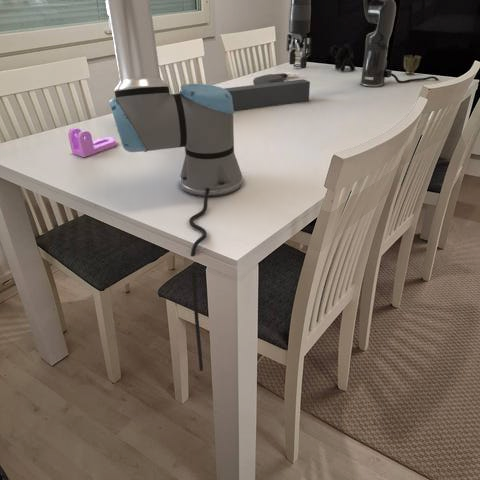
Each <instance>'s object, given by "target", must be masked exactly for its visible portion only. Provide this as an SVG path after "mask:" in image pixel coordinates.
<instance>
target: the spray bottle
mask: <svg viewBox="0 0 480 480" xmlns="http://www.w3.org/2000/svg"><path fill="white" fill-rule="evenodd" d="M296 77H300V74H299V73H296V72H289V71H285V72H284V73H269V74H264V75H260V76H257V77H254V78H253V80H252V83H253V84H252V85H258V84H267V83H276V82H284V81H285V79H287V78H296Z"/></svg>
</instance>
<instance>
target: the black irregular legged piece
mask: <svg viewBox="0 0 480 480" xmlns="http://www.w3.org/2000/svg"><path fill="white" fill-rule="evenodd" d="M335 51H336V52H335ZM348 54H349V56H348ZM330 55H331V57H332V58H334V59H335V63H334V68H335V69H336V70H339V71H340V72H344V71H345V70H346V66H348V68H349V69H350V70H351V71H354V70H355V69H356V66H355V64H354V63H353V62H352V60H353V59H354V57H355V55H354V52H353V48H352V47H351V45H350V44H348V43H346V44H344V48H343V47H339V46H337V45H332V46H331V47H330Z"/></svg>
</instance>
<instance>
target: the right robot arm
mask: <svg viewBox="0 0 480 480" xmlns="http://www.w3.org/2000/svg"><path fill="white" fill-rule="evenodd" d="M311 4H312V0H290V6H289V13H288V14H289V16H288V17H289V19H288V34H287V35H286V52H288V54H289V61H288V63H289V65H295V64H296V62H295V59H296V58H297V57H296V56H297V53H296V50H297V49H298V52H300V53H299V56H301V57H300V59H301V60H300V62H299V64H300V65H299V66H300V67H299V68H300V69H307V64H308V63H307V60H308V57H311V55H312V38H311V37H307V34H309V33H310V31H311V19H312V18H311V17H312V15H311V14H312V5H311ZM363 10H364V11H363V12H364V17H365V19H366V21H367V22H368V23H370V24H376V29H375V30H374V31H372V32H369V33H368V34H366V38H365V46H364V54H363V62H362V70H361V78H360V85H361V86H363V87H368V88H370V87H371V88H377V87H381V86H383V85H384V84H385V79H386V78H388V79H389V78H391V77H393V78H394V79H395V81H396V82H397V83H398V84H405V83H409V82H417V81H427V80H431V79H433V80H435V81H437V82H438V81H439V78H438V77H437V76H433V75H432V76H431V75H430V76H427V77H418V78H417V77H416V78H409V79H405V80H400V79H399V78H398V76H397V75H396V74H394V73H392V72H393V70H392V69H387V67H388V60H387V57H388V49H389V42H390V38H391V36H392V33H393V28H394V24H395V18H396V12H397V5H396V1H395V0H363Z"/></svg>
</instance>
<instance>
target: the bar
mask: <svg viewBox="0 0 480 480" xmlns="http://www.w3.org/2000/svg"><path fill="white" fill-rule="evenodd" d="M310 86H311V81H309V80H307V79H305V78H304V79H303V78H302V79H294V80H293V79H292V80H286V81H285V80H284V82H276V83H267V84H258V85H254V84H251V85H243V86H234V87H223V88H224V89H226V90H227V91H228V92H229V93H230V94H231V96H232V102H233V110H234V112H237V111H245V110H252V109H260V108H266V107H267V108H268V107H274V106H275V107H276V106H281V105H282V106H283V105H291V104H297V103H305V102H309V101H310V88H311V87H310Z"/></svg>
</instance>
